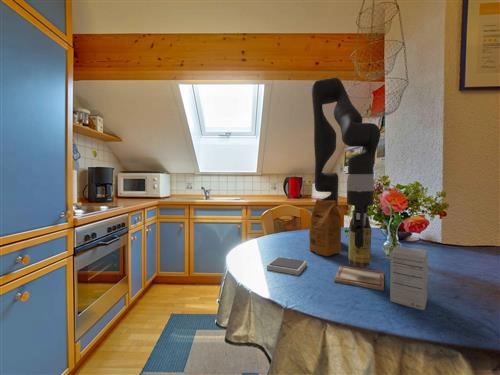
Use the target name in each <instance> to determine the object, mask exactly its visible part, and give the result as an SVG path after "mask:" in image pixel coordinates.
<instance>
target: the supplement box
mask: <svg viewBox="0 0 500 375" xmlns="http://www.w3.org/2000/svg"><path fill="white" fill-rule="evenodd" d="M428 260H429V259H428V250H426V249H422V248H414V247H407V246H398V245H395V246H394V248H393V249H391V251H390V264H389V265H390V268H389V269H390V271H389V272H390V276H389V277H390V278H389V279H390V282H389V286H390V287H389V298H390V299H389V301H390V302H391V303H392V302H393V303H396V304H399V305H402V306H406V307H410V308H413V309H417V310H421V311H425V310H426V305H427V302H428Z"/></svg>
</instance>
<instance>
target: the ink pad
mask: <svg viewBox="0 0 500 375" xmlns="http://www.w3.org/2000/svg"><path fill="white" fill-rule="evenodd" d="M307 265H308V263H307V260H303V259H293V258H287V257H279V256H277V257H276V258H274V259H273V260H272V261H270V262H269V263H268V264H266V270H267V271H272V272H280V273H283V274H284V273H285V274H289V275H290V274H291V275H295V276H299V275H300V274H301V273H302V272H303V270H304V269H305V268H306V267H307Z"/></svg>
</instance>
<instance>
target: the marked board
mask: <svg viewBox="0 0 500 375" xmlns="http://www.w3.org/2000/svg"><path fill="white" fill-rule="evenodd" d="M333 280H334V281H333V283H338V284H345V285H350V286H356V287H361V288H367V289H368V288H369V289H373V290H380V291H385V290H384V288H385V287H384V286H385V285H384V283H385V282H384V280H385V279H384V271H379V270H372V269H366V268H360V267H354V266H352V267H350V266H346V265H345V266H344V265H340V266H339V268H338V270H337V272H336V275H335V277H334V278H333Z"/></svg>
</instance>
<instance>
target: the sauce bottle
mask: <svg viewBox="0 0 500 375" xmlns="http://www.w3.org/2000/svg"><path fill="white" fill-rule="evenodd" d="M368 208H369V206H364V212H367V218H366V225H365V227H364V229H363V231H364V233H363V246H362V247H356V246H355V234H354V232H353V230H354V226H353V217H352V218H351V219H350V221H349V230H348V254H347V258H348V265H350V266H352V267H353V268H360V269H366V268H368V267H370V262H371V249H372V248H371V247H372V225H371V223H370V220H369V216H368V215H369V214H368ZM353 210H354V211H355V208H354V209H353ZM363 222H364V217H363ZM356 229H361V227H356Z"/></svg>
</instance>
